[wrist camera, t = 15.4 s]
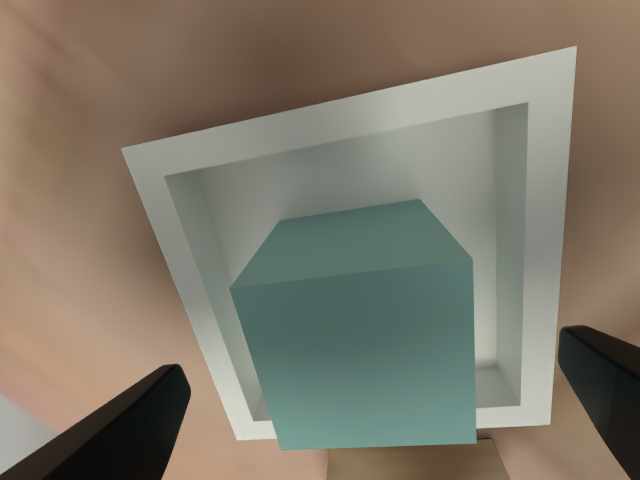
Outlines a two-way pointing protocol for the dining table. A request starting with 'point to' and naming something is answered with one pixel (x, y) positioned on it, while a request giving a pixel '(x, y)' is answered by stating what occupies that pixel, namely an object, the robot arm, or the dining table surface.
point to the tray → (377, 189)
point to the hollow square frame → (418, 462)
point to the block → (362, 329)
